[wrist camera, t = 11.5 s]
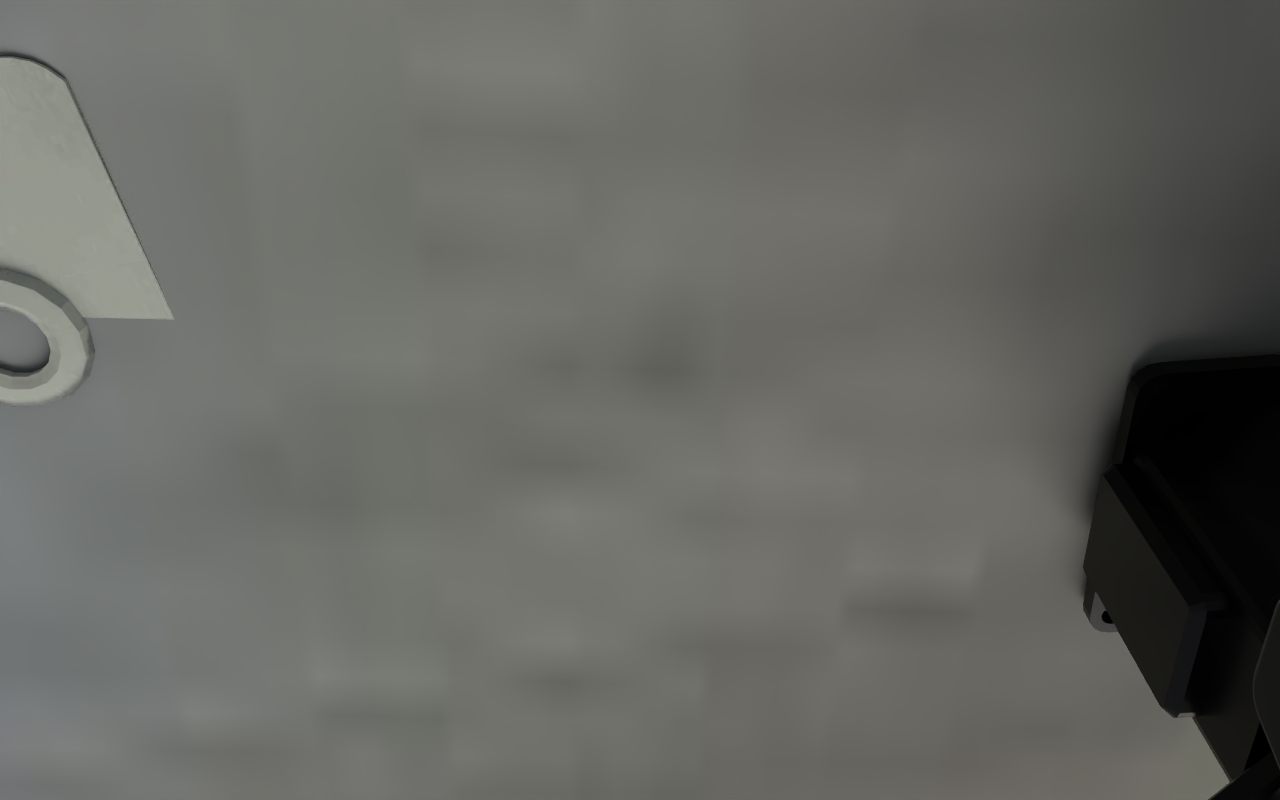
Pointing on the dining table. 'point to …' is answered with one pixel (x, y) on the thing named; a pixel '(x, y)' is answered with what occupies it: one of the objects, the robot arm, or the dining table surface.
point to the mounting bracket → (61, 233)
